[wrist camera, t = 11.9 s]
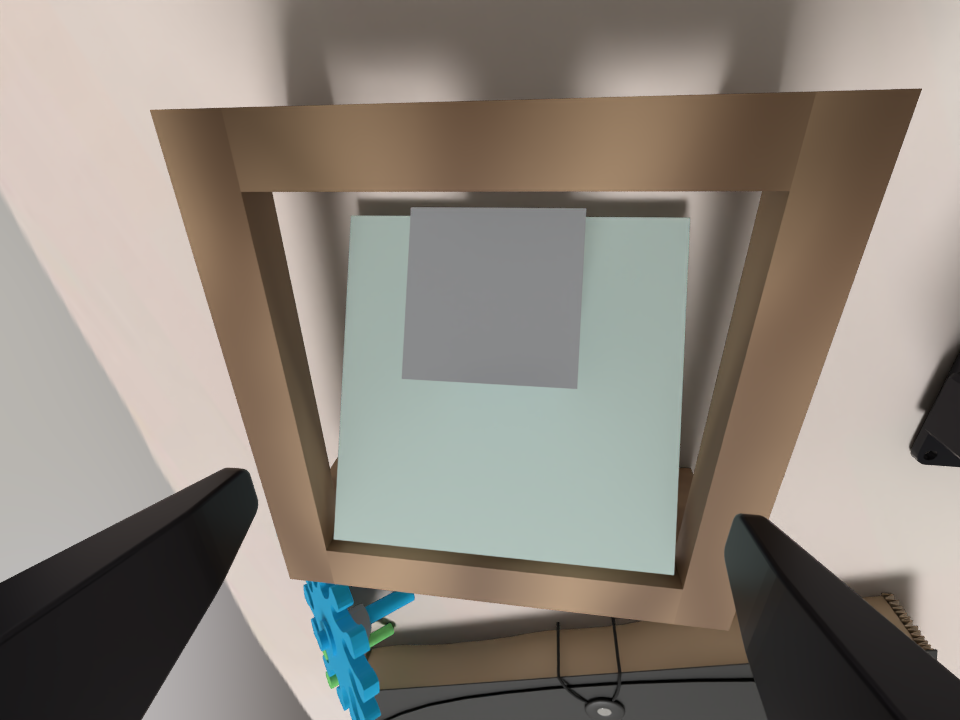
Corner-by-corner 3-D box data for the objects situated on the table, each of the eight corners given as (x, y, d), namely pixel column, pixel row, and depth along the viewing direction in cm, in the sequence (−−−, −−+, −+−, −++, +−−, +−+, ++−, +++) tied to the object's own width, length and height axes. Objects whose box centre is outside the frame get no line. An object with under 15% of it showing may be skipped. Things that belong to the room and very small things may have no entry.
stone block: (571, 262, 18) (586, 208, 12) (565, 382, 17) (577, 389, 12) (454, 259, 18) (410, 207, 12) (448, 375, 18) (401, 378, 12)
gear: (291, 521, 26) (362, 702, 21) (385, 485, 30) (470, 632, 24) (291, 610, 33) (346, 766, 27) (369, 572, 36) (432, 704, 31)
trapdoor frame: (777, 102, 16) (921, 88, 10) (683, 498, 24) (728, 630, 18) (287, 114, 18) (149, 109, 12) (352, 471, 26) (290, 578, 20)
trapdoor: (666, 563, 18) (674, 575, 17) (344, 530, 20) (333, 539, 19) (681, 226, 18) (690, 217, 17) (360, 223, 20) (350, 215, 19)
